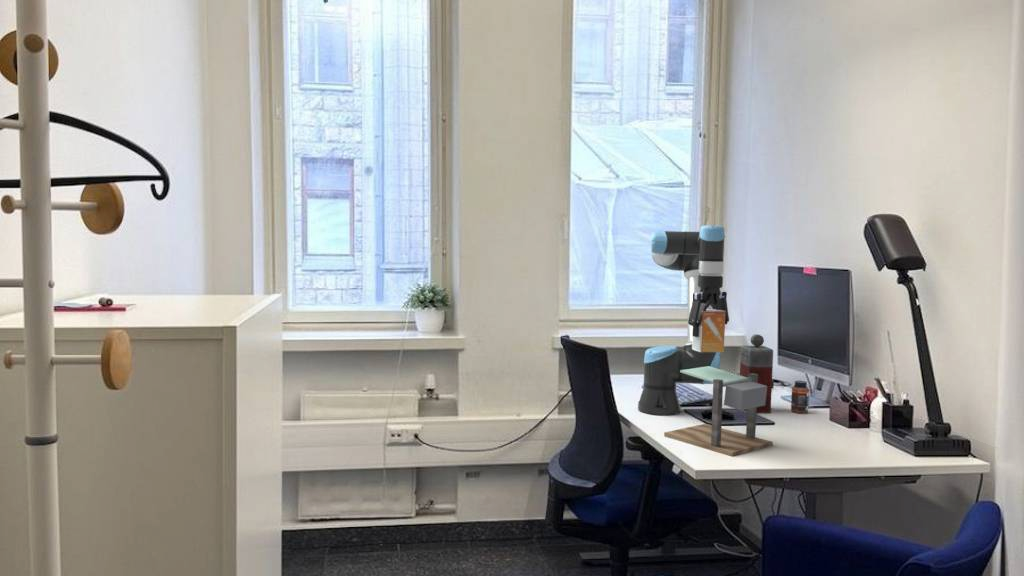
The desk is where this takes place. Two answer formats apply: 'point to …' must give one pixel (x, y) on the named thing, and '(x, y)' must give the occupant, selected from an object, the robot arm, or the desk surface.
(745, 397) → the trapdoor
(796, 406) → the supplement bottle
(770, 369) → the red and grey canister
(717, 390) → the frame
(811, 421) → the desk surface
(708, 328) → the small box
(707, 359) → the robot arm
